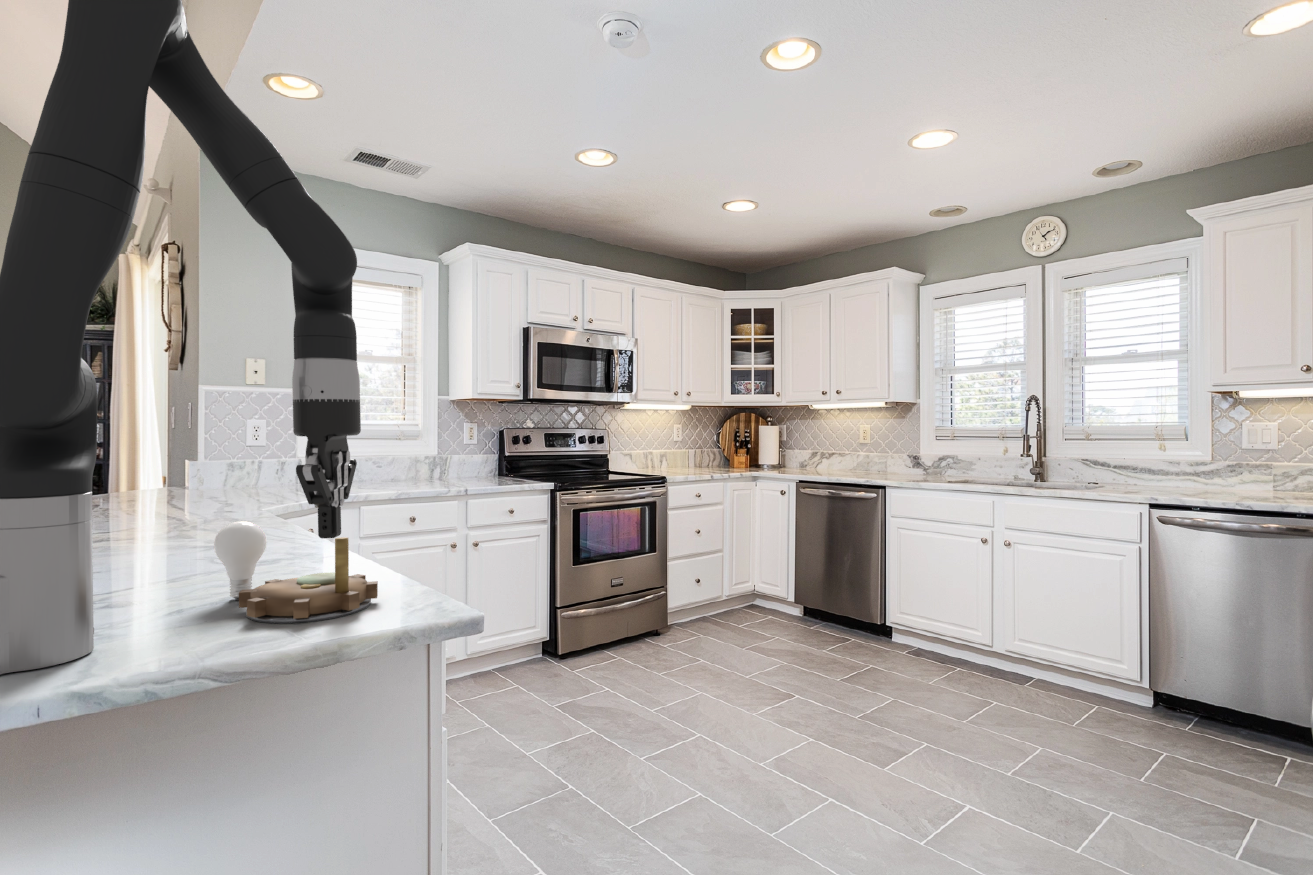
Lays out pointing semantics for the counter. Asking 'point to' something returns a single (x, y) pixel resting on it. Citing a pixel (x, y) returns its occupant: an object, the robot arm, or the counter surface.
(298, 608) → the sprocket
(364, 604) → the plate
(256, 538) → the lightbulb
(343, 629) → the counter surface
